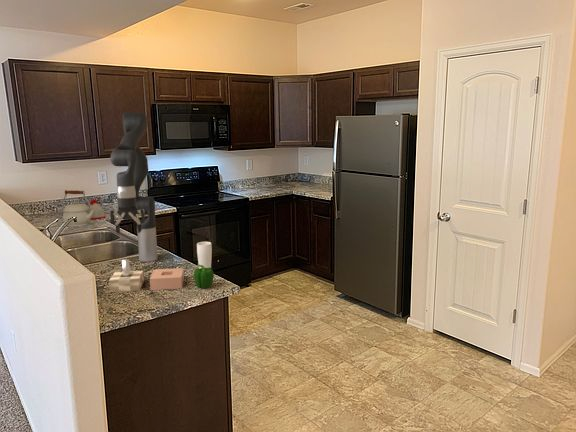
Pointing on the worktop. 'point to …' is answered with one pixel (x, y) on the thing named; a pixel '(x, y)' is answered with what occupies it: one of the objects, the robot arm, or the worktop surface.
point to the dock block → (167, 279)
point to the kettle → (77, 211)
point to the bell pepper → (203, 277)
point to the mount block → (126, 281)
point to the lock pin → (126, 268)
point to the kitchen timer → (96, 210)
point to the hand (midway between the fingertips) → (129, 233)
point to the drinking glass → (204, 254)
